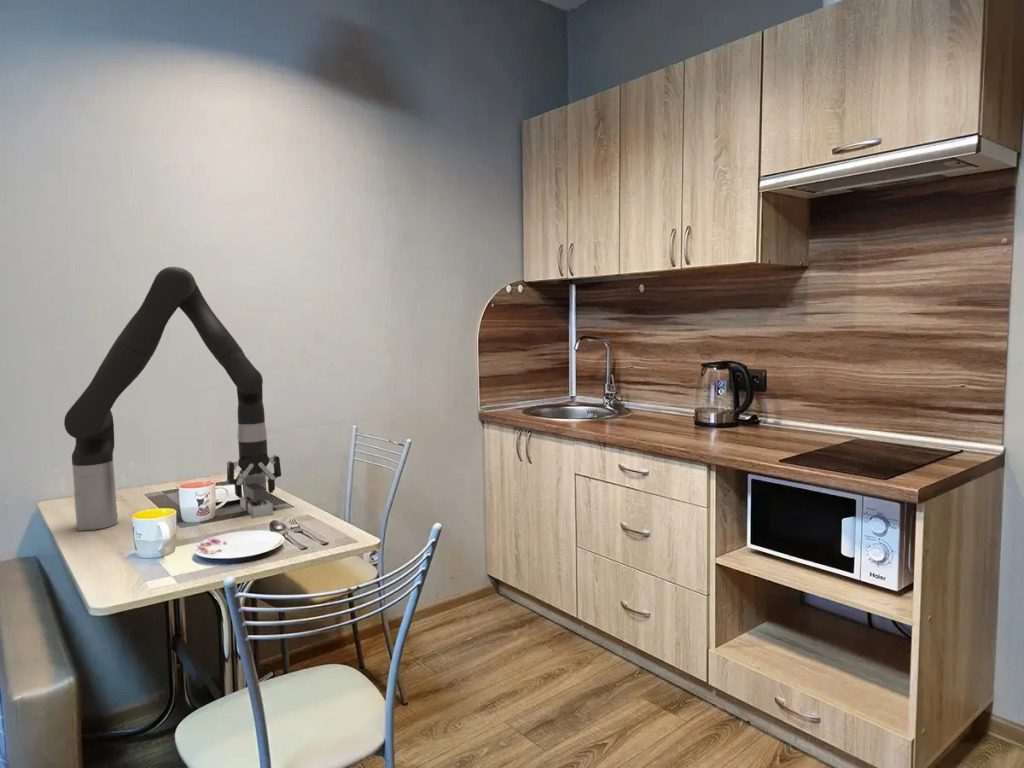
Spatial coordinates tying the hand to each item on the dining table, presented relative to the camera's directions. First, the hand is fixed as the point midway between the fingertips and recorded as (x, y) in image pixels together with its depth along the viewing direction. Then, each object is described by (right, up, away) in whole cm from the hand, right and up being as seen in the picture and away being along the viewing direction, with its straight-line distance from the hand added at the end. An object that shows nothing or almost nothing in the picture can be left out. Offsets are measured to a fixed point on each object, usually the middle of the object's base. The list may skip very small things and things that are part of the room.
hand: (255, 494), depth 191 cm
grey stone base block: (0, -5, 0) cm, 5 cm away
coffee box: (-5, -4, +13) cm, 15 cm away
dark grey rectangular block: (0, -5, 0) cm, 5 cm away
